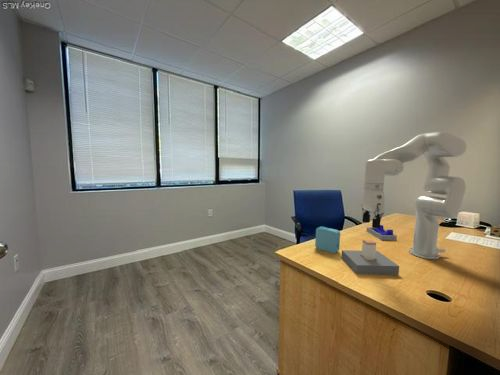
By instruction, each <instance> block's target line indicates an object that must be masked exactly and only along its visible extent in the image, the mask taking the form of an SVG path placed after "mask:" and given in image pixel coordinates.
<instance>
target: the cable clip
mask: <svg viewBox="0 0 500 375" xmlns="http://www.w3.org/2000/svg"><path fill="white" fill-rule="evenodd" d="M384 230H385V228H384V225H383V224H380V228H377V229H375V232H377V233H379V234H381V235H393V234H394V229H387V230H386V231H387V232H386V233H385V231H384Z"/></svg>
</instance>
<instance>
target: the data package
mask: <svg viewBox="0 0 500 375" xmlns="http://www.w3.org/2000/svg"><path fill="white" fill-rule="evenodd" d="M340 243H341V232H340V230H338V229H335V228H330V227H326V226H319V227H317V228H316V229H315V243H314V244H315V248H316V249H318V250H321V251H325V252H328V253H331V254H336V253H338V252H339V251H340V245H341V244H340Z"/></svg>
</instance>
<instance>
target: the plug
mask: <svg viewBox="0 0 500 375" xmlns="http://www.w3.org/2000/svg"><path fill="white" fill-rule="evenodd" d="M361 251H362V258H364V259H365V260H375V252H376V251H377V242H376V241H374V240H372V239H362V245H361Z"/></svg>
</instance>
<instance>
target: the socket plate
mask: <svg viewBox="0 0 500 375" xmlns="http://www.w3.org/2000/svg"><path fill="white" fill-rule="evenodd" d="M341 259H342V260H343V261H344V262H345V263H346V265H348V266H349V268H350V269H351V270H352V271H353V272H354V273H355V274H356V275H383V276H384V275H385V276H387V275H388V276H390V275H391V276H399V274H400V266H399V265H398V264H397V263H396V262H394V261H393V260H391V259H390V258H388V257H387V256H386V255H384V254H383V253H381V252H380V251H378V250H376V252H375V260H365V259H364V258H362V250H345V249H343V250H341Z"/></svg>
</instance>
